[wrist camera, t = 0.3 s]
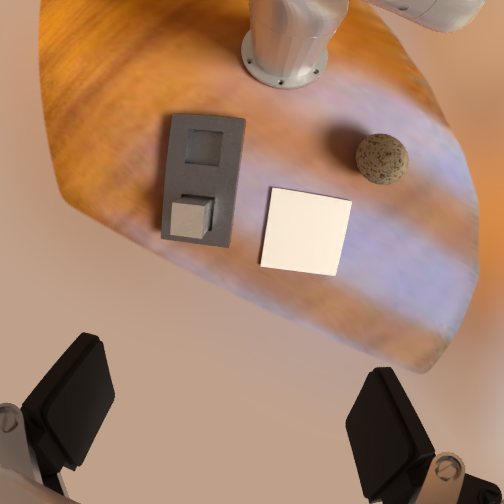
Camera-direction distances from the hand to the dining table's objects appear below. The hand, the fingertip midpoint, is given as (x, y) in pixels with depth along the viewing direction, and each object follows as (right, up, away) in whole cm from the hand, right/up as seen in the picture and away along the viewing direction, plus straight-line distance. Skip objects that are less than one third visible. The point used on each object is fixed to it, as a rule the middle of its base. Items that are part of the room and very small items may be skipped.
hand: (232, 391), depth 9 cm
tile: (+9, +7, +33) cm, 35 cm away
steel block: (-7, +11, +32) cm, 35 cm away
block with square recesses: (-6, +15, +31) cm, 35 cm away
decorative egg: (+18, +19, +30) cm, 40 cm away
